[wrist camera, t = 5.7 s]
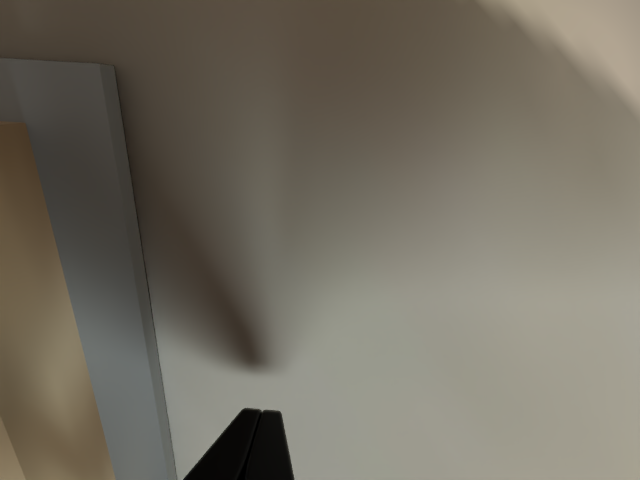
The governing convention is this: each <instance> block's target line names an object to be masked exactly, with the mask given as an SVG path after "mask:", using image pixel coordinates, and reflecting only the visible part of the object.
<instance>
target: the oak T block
mask: <svg viewBox="0 0 640 480" xmlns="http://www.w3.org/2000/svg"><path fill="white" fill-rule="evenodd" d="M0 480H116V479H115V475H114V471H113V467H112V463H111V459H110V455H109V451H108V447H107V443H106V439H105V435H104V431H103V428H102V424H101V420H100V416H99V412H98V408H97V404H96V400H95V396H94V392H93V388H92V384H91V380H90V376H89V372H88V368H87V364H86V360H85V356H84V352H83V348H82V344H81V341H80V337H79V333H78V329H77V325H76V321H75V317H74V313H73V309H72V305H71V301H70V297H69V293H68V289H67V285H66V281H65V277H64V273H63V269H62V265H61V261H60V257H59V253H58V250H57V246H56V242H55V238H54V234H53V230H52V226H51V222H50V218H49V214H48V210H47V206H46V202H45V198H44V194H43V190H42V186H41V182H40V178H39V174H38V170H37V166H36V163H35V159H34V155H33V151H32V147H31V143H30V139H29V135H28V131H27V127H26V123H21V122H5V121H0Z"/></svg>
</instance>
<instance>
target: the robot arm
mask: <svg viewBox="0 0 640 480" xmlns="http://www.w3.org/2000/svg"><path fill="white" fill-rule="evenodd" d="M183 480H294V475H293V470H292V465H291V460H290V454H289V449H288V444H287V439H286V434H285V429H284V424H283V419H282V414H281V412H280V411H275V410H264V411H263V412H262V411H261V410H260V409H252V408H244V409H243V410H241V412H240V413H239V414H238V415H237V416H236V417H235V419H234V420H233V421H232V422H231V423H230V425H229V426H228V427H227V428H226V429H225V430H224V432H223V433H222V434H221V435H220V436H219V438H218V439H217V440H216V441H215V442H214V444H213V445H212V446H211V447H210V448H209V449H208V451H207V452H206V453H205V454H204V455H203V457H202V458H201V459H200V460H199V461H198V462H197V464H196V465H195V466H194V467H193V468H192V470H191V471H190V472H189V473H188V474H187V476H186V477H185V478H184V479H183Z"/></svg>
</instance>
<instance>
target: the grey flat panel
mask: <svg viewBox="0 0 640 480" xmlns="http://www.w3.org/2000/svg"><path fill="white" fill-rule="evenodd" d="M0 121H5V122H21V123H26V127H27V131H28V135H29V139H30V143H31V147H32V151H33V155H34V159H35V163H36V166H37V170H38V174H39V178H40V182H41V186H42V190H43V194H44V198H45V202H46V206H47V210H48V214H49V218H50V222H51V226H52V230H53V234H54V238H55V242H56V246H57V250H58V253H59V257H60V261H61V265H62V269H63V273H64V277H65V281H66V285H67V289H68V293H69V297H70V301H71V305H72V309H73V313H74V317H75V321H76V325H77V329H78V333H79V337H80V341H81V344H82V348H83V352H84V356H85V360H86V364H87V368H88V372H89V376H90V380H91V384H92V388H93V392H94V396H95V400H96V404H97V408H98V412H99V416H100V420H101V424H102V428H103V431H104V435H105V439H106V443H107V447H108V451H109V455H110V459H111V463H112V467H113V471H114V475H115V479H116V480H177V477H176V470H175V463H174V457H173V450H172V444H171V437H170V431H169V424H168V417H167V411H166V404H165V398H164V391H163V385H162V378H161V372H160V365H159V358H158V352H157V345H156V339H155V332H154V326H153V319H152V312H151V306H150V299H149V293H148V286H147V280H146V273H145V266H144V260H143V253H142V247H141V240H140V234H139V227H138V221H137V214H136V207H135V201H134V194H133V188H132V181H131V175H130V168H129V161H128V155H127V148H126V142H125V135H124V129H123V122H122V116H121V109H120V102H119V96H118V89H117V83H116V76H115V70H114V66H113V65H106V64H98V63H81V62H63V61H46V60H28V59H11V58H0Z"/></svg>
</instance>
